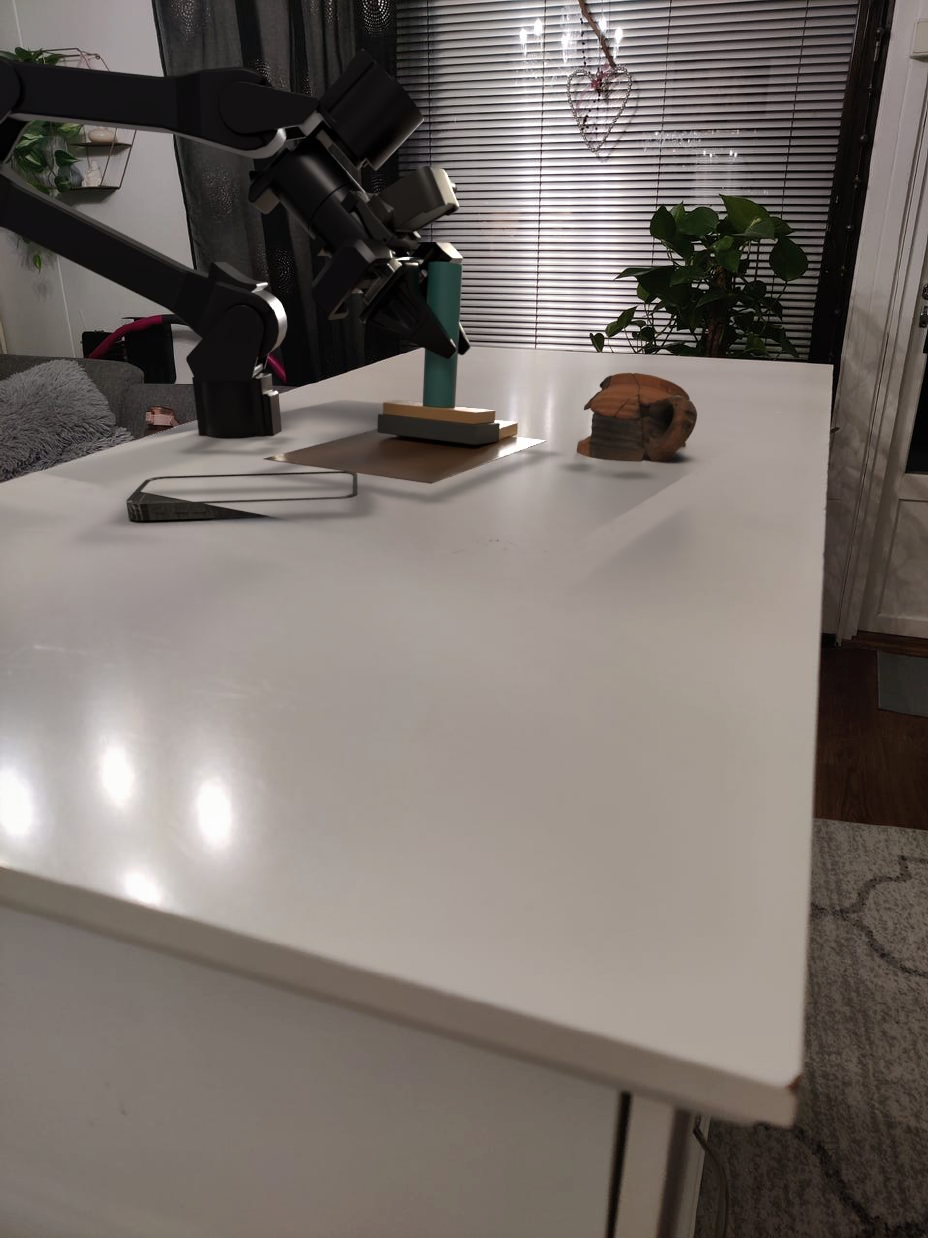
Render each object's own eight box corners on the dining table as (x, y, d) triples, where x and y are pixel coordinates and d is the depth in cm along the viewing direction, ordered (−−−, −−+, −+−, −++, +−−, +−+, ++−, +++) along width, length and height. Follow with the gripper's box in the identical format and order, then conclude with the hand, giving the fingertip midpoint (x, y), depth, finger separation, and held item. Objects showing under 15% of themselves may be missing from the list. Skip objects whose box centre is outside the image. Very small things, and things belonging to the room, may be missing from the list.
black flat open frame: (148, 476, 63) (356, 470, 65) (150, 492, 64) (357, 484, 65) (121, 505, 56) (357, 496, 58) (124, 521, 56) (358, 513, 58)
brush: (376, 432, 76) (381, 260, 72) (403, 429, 80) (408, 265, 75) (475, 445, 72) (486, 261, 67) (499, 441, 75) (510, 266, 71)
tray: (264, 473, 70) (262, 458, 69) (396, 436, 84) (395, 424, 83) (431, 499, 62) (431, 483, 61) (546, 454, 76) (546, 440, 76)
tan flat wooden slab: (456, 436, 77) (456, 425, 77) (479, 429, 80) (479, 418, 80) (496, 441, 75) (496, 429, 75) (517, 433, 78) (517, 422, 78)
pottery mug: (544, 467, 73) (570, 374, 74) (627, 505, 78) (651, 417, 78) (641, 455, 63) (670, 347, 63) (729, 499, 68) (756, 399, 68)
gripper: (337, 111, 60) (487, 282, 61) (439, 142, 77) (557, 277, 77) (251, 237, 66) (389, 393, 67) (363, 241, 82) (474, 367, 83)
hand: (460, 353), depth 73 cm, fingers closed on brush, 3 cm apart
